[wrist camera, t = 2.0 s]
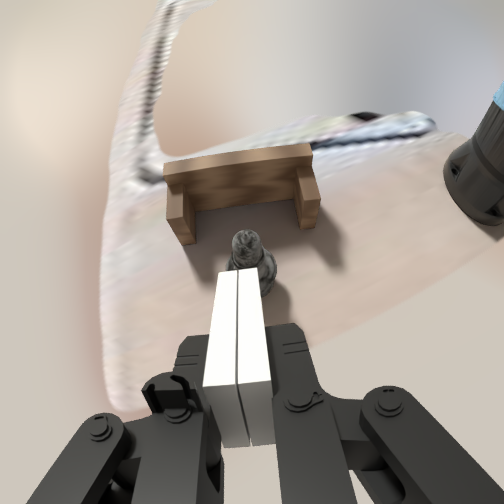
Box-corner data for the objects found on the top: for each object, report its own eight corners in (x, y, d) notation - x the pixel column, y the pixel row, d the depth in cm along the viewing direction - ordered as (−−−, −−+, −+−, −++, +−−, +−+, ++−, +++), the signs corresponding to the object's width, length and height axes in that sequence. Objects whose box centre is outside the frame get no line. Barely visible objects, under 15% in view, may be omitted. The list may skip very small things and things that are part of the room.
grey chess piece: (284, 267, 39) (287, 219, 28) (264, 309, 37) (261, 274, 26) (242, 250, 41) (230, 198, 30) (221, 290, 39) (200, 249, 28)
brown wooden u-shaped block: (304, 186, 44) (309, 143, 36) (314, 227, 41) (323, 188, 33) (181, 202, 44) (163, 163, 36) (181, 245, 41) (160, 210, 33)
